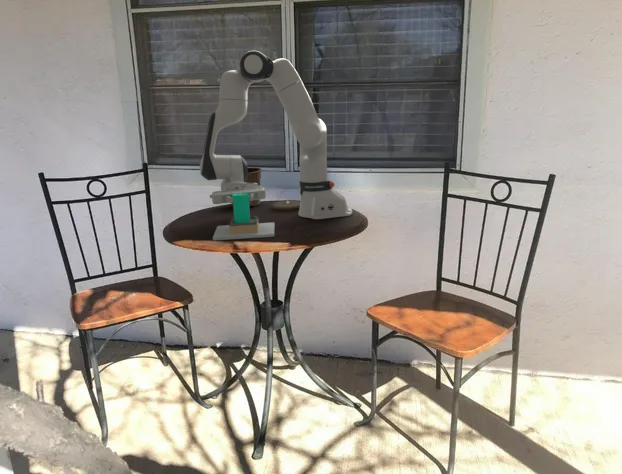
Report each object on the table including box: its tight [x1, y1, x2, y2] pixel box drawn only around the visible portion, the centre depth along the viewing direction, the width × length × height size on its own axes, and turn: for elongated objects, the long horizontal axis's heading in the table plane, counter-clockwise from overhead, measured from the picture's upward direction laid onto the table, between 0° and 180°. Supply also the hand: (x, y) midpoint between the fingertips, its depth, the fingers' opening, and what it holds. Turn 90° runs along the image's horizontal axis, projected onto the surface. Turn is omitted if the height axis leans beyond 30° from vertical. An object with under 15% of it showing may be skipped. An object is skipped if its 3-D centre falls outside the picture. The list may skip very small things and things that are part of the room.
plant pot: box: [246, 167, 263, 207], centre depth 231 cm, size 16×16×16 cm
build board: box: [212, 215, 276, 241], centre depth 188 cm, size 22×16×5 cm
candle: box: [232, 193, 251, 223], centre depth 186 cm, size 6×6×12 cm
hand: (242, 199), depth 185 cm, fingers closed on candle, 5 cm apart
